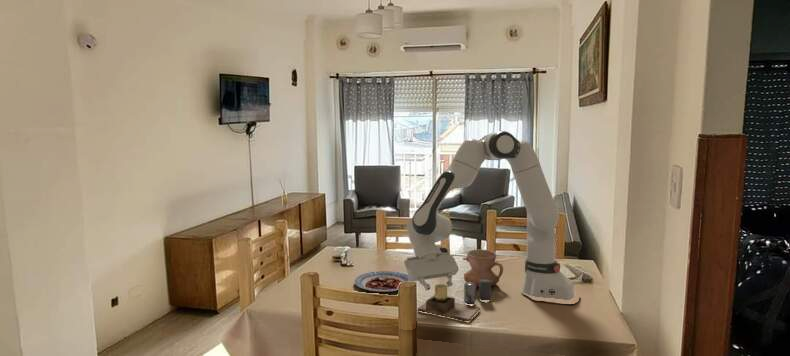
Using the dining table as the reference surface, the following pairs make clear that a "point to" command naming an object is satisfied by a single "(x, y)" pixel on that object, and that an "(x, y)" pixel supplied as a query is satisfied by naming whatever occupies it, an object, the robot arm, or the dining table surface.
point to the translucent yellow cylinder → (441, 293)
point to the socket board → (449, 309)
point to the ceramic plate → (381, 281)
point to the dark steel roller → (469, 292)
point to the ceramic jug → (482, 267)
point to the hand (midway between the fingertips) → (439, 287)
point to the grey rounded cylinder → (485, 289)
